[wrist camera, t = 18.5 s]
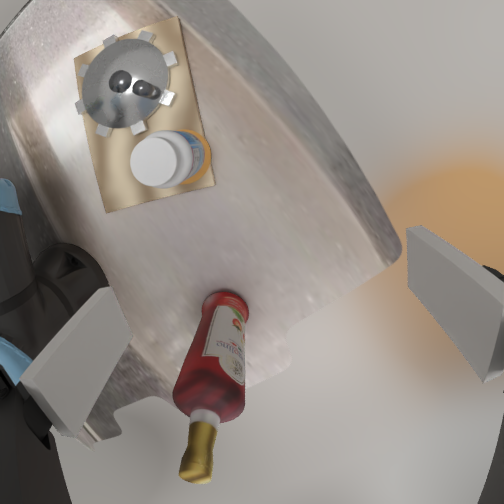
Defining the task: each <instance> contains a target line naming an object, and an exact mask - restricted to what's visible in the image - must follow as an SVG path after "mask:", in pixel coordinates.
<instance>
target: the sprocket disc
mask: <svg viewBox="0 0 504 504" xmlns="http://www.w3.org/2000/svg"><path fill="white" fill-rule="evenodd" d="M155 37H156V35H155V34H154V33H151V32H147V31H143V30H142V31H141V32H140V34H139V36H138V38H137V39H124V40H120V41H119V40H118V37H117V36H115V35H112V36H111V37H109V38H107V39H105V40H104V41H103V44H104V49H103V50H102V51H101V52H100V53H99V54H98V55H97V56H96V57H95V58H94V59H93V61H92V62H91V64H90V65H86V64H82V66H81V68H80V70H79V73H78V76H81V77H84V79H83V84H82V99H81V100H79V101H78V102H76V103H75V105H76V108H77V111H78V114H81V115H83V114H85V113H86V112H87V113H88V114H89V115H90V117H91V118H92V119H93V120H94V121H96V122H97V123H98V127H97V129H96V132H95V133H96V134H99V135H101V136H104V137H110V135H111V132H112V129H113V128H129V127H130V128H131V130H132V133H133V136H137V135H139V134H141V133H143V132H145V131H147V130H149V129H148V126H147V123H146V120H147V119H148V118H150V117H151V116H152V115H153V114H154V113H155V112H156V111H157V110H158V109H159V107H160V106H161V105H162V104H164V105H167V106H169V107H172V104H173V102H174V100H175V98H176V96H177V94H176V93H173V92H170V91H168V89H169V86H170V68H173V67H175V66H177V65H179V62H178V59H177V56H176V54H175V52H174V51H171V52H169V53H167V54H165V55H164V54H163V53H162V52H161V51H160V50H159V49H158V48H157V47H155V46H154V45H153V44H152V42H153V41H154V39H155Z"/></svg>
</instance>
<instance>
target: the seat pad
mask: <svg viewBox="0 0 504 504" xmlns="http://www.w3.org/2000/svg"><path fill="white" fill-rule="evenodd" d="M177 131H184V132H189V133H191V134H193V135H195V136H196V137H197V138H198V139H199V140H200V141H201V142H202V144H203V147H204V150H205V159H204V163H203V165H202V167H201V169H200V170H199V171H198V172H197V173H196V174H195V175H193V176H192V177H190V178H188V179H187V180H185V181H183V182H182V183H180V184H190V183H193V182H195V181H197V180H198V179H200V178H201V177H202V176H203V175H204V174H205V173H206V172H207V170H208V168H209V166H210V162H211V150H210V147H209V144H208V143H207V141H206V140H205V138H204V137H203V136H202V135H200V134H199V133H197V132H195V131H192V130H185V129H183V130H177Z"/></svg>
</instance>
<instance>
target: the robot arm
mask: <svg viewBox="0 0 504 504" xmlns="http://www.w3.org/2000/svg"><path fill="white" fill-rule="evenodd" d="M406 235H407V260H408V287H409V289H410V290H411V291H412V292H413V293H414V294H415V295H416V297H418V299H419V300H420V301H421V303H422V304H423V305H424V306H425V307H426V309H427V310H428V311H429V312H430V314H431V315H432V316H433V317H434V318H435V320H436V321H437V322H438V323H439V325H440V326H441V327H442V328H443V329H444V331H445V332H446V333H447V335H448V336H449V337H450V339H451V340H452V341H453V342H454V344H455V345H456V346H457V348H458V349H459V350H460V352H461V353H462V354H463V356H464V357H465V358H466V360H467V361H468V362H469V364H470V365H471V367H472V368H473V369H474V371H475V372H476V373H477V375H478V376H479V378H480V379H481V381H482V382H483V383H486V382H488V381H490V380H492V379H494V378H496V377H498V376H500V375H502V372H503V370H504V275H502V274H501V273H500V272H498V271H497V270H495V269H493V268H490V267H487V266H485V265H483V266H481V265H480V264H478V263H477V262H475V261H474V260H472V259H471V258H470V257H468V256H467V255H466V254H464V253H463V252H461V251H460V250H458V249H457V248H455V247H454V246H452V245H451V244H450V243H448V242H446V241H445V240H443V239H442V238H440V237H439V236H437V235H436V234H434V233H433V232H431V231H430V230H428V229H426V228H425V227H423V226H422V225H420V226H415V227H410V228H407V229H406ZM132 337H133V334H132V332H131V330H130V328H129V325H128V323H127V321H126V319H125V316H124V314H123V312H122V310H121V307H120V305H119V302H118V300H117V298H116V295H115V293H114V290H113V288H112V286H110V287H109V286H108V283H107V280H106V277H105V275H104V273H103V271H102V270H101V268H100V266H99V265H98V264H97V262H96V261H95V260H94V259H93V258H92V257H91V256H90V255H89V254H88V253H87V252H85V251H84V250H82V249H81V248H79V247H77V246H74V245H72V244H67V243H59V244H55V245H53V246H51V247H49V248H47V249H46V250H44V251H43V252H42V253H41V254H40V255H39V256H38V257H37V258H36V260H35V262H34V263H33V264H32V261H31V257H30V253H29V249H28V245H27V241H26V236H25V231H24V226H23V221H22V211H21V210H20V207H19V203H18V199H17V194H16V189H15V187H14V185H13V183H12V182H11V181H9V180H8V179H4V178H0V504H72V502H71V499H70V496H69V493H68V489H67V486H66V483H65V479H64V476H63V472H62V468H61V464H60V460H59V456H58V452H57V447H56V443H55V438H54V436H53V434H52V433H51V432H50V431H49V429H50V428H51V426H52V424H53V426H54V427H55V428H56V429H57V431H58V432H59V433H60V434H61V435H62V436H67V437H73V438H77V436H78V434H79V432H80V430H81V428H82V426H83V424H84V422H85V420H86V419H87V417H88V415H89V413H90V411H91V409H92V407H93V406H94V404H95V402H96V400H97V398H98V396H99V395H100V393H101V391H102V389H103V387H104V386H105V384H106V382H107V380H108V378H109V377H110V375H111V373H112V371H113V370H114V368H115V366H116V364H117V363H118V361H119V359H120V357H121V356H122V354H123V352H124V351H125V349H126V347H127V345H128V344H129V342H130V340H131V339H132ZM503 393H504V392H503ZM478 504H504V415H503V420H502V425H501V429H500V434H499V438H498V442H497V446H496V450H495V453H494V457H493V460H492V464H491V467H490V470H489V473H488V476H487V479H486V482H485V485H484V488H483V491H482V493H481V496H480V499H479V501H478Z"/></svg>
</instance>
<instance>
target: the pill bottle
mask: <svg viewBox="0 0 504 504" xmlns="http://www.w3.org/2000/svg"><path fill="white" fill-rule="evenodd" d="M204 159H205V150H204V147H203V144H202V142H201V141H200V140H199V139H198V138H197V137H196V136H195V135H193V134H191V133H189V132H184V131H171V130H162V131H157V132H154V133H152V134H150V135H148V136H147V137H146V138H145V139H144V140H142V141H141V142H139V143H138V144H137V145H136V146H135V148H134V149H133V151H132V154H131V158H130V167H131V170H132V173H133V175H134V176H135V178H136V179H137V180H138V181H139V182H141V183H142V184H144V185H147V186H152V187H155V188H161V189H166V188H171V187H174V186H176V185H178V184H180V183H182V182H183V181H185V180H187V179H188V178H190V177H192V176H193V175H195V174H196V173H197V172H198V171H199V170H200V169H201V167H202V165H203V163H204Z"/></svg>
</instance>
